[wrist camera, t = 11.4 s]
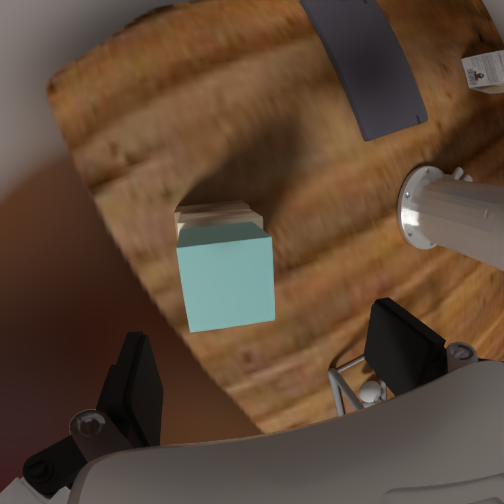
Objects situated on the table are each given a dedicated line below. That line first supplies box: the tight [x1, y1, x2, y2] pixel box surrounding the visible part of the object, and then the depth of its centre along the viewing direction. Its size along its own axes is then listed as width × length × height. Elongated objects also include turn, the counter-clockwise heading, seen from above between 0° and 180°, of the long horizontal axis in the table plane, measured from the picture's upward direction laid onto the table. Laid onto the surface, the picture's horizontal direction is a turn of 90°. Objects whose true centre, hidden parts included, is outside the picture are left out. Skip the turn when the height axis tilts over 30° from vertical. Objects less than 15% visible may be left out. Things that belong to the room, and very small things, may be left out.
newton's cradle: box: [328, 357, 386, 416], centre depth 38 cm, size 30×10×18 cm, turn 19°
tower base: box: [174, 200, 250, 242], centre depth 29 cm, size 7×7×5 cm
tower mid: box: [177, 209, 263, 237], centre depth 25 cm, size 6×6×5 cm
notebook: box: [299, 0, 428, 141], centre depth 29 cm, size 13×2×21 cm
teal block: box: [176, 221, 275, 332], centre depth 20 cm, size 6×6×6 cm
